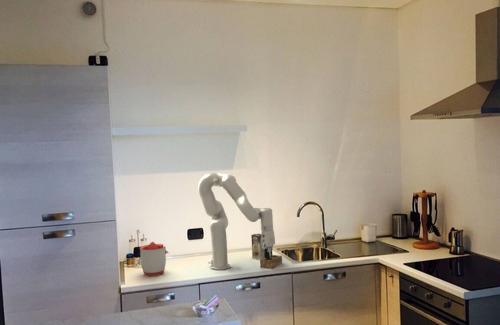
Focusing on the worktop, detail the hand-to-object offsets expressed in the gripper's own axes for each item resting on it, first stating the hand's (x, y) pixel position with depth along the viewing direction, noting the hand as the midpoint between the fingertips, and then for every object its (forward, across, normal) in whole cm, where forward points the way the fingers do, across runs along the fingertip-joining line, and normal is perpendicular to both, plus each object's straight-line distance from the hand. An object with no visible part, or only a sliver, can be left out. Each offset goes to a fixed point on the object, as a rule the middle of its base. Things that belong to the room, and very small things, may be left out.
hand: (268, 257), depth 292 cm
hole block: (+6, +3, 0) cm, 7 cm away
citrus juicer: (+6, -40, +58) cm, 71 cm away
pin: (+3, 0, 0) cm, 3 cm away
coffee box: (+6, +16, +16) cm, 24 cm away
